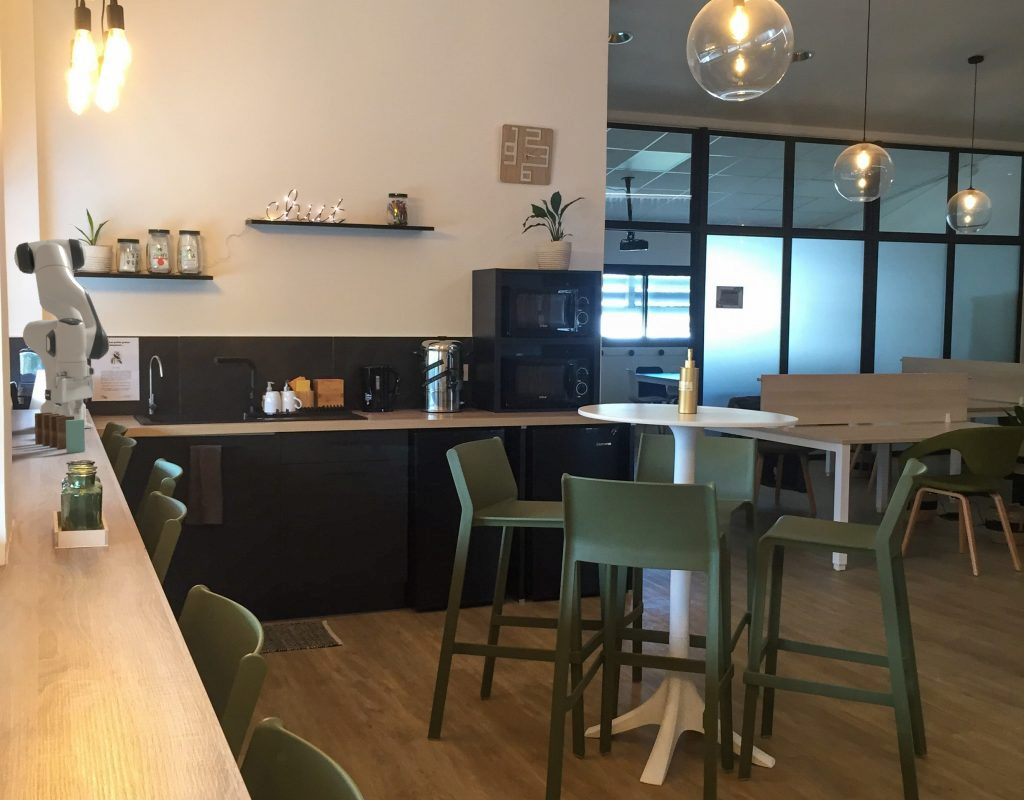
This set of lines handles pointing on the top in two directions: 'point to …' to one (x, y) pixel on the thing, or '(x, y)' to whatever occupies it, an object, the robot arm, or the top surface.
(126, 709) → the top surface
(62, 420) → the domino
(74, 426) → the domino
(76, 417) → the mug
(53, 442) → the domino
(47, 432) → the domino
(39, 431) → the domino
